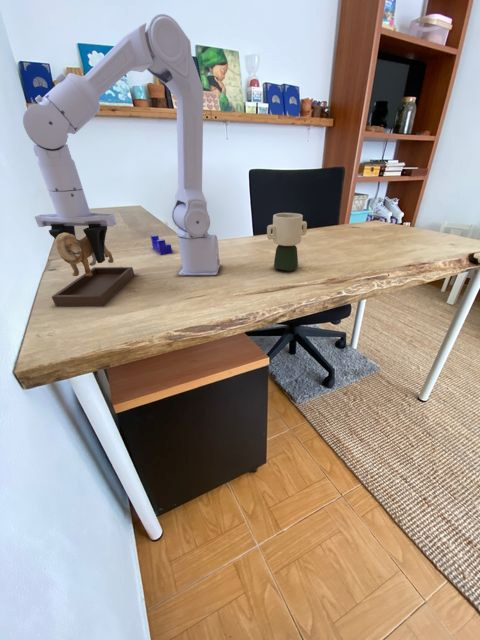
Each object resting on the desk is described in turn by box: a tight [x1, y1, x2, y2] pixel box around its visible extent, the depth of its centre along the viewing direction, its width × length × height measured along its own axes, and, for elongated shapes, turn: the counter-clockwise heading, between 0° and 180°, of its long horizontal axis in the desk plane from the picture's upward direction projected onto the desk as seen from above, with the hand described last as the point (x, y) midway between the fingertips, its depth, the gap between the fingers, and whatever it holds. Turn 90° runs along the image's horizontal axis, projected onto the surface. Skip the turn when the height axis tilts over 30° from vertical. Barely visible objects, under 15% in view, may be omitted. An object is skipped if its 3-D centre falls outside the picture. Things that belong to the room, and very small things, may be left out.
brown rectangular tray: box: [51, 266, 135, 307], centre depth 66 cm, size 10×18×2 cm, turn 0°
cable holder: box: [150, 234, 173, 256], centre depth 90 cm, size 8×4×4 cm, turn 34°
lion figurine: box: [54, 233, 115, 277], centre depth 61 cm, size 15×5×9 cm, turn 0°
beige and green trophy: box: [266, 212, 308, 272], centre depth 73 cm, size 11×7×13 cm, turn 115°
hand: (90, 261), depth 63 cm, fingers closed on lion figurine, 4 cm apart
